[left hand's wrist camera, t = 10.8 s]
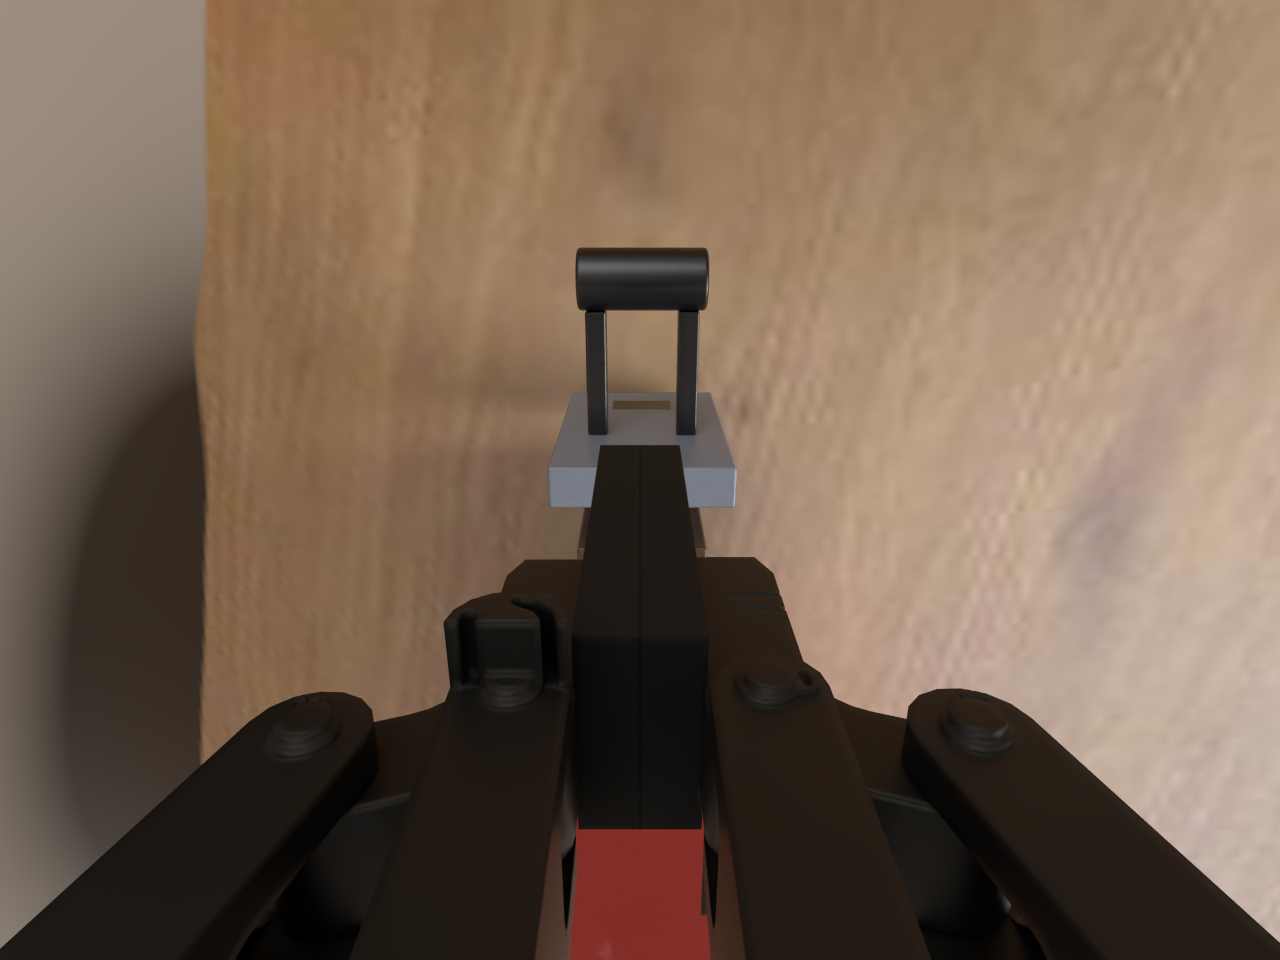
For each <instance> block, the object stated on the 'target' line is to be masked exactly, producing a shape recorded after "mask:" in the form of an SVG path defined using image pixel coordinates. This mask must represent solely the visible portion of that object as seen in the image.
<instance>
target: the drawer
mask: <svg viewBox="0 0 1280 960" xmlns="http://www.w3.org/2000/svg"><path fill="white" fill-rule="evenodd" d="M708 292H709V256H708V251H707V249H706V248H579V249H578V250H577V253H576V297H577V305H578V308H579V309H580V310H586V313H585V331H586V372H587V393H572V396H571V399H570V402H569V405H568V408H567V411H566V415H565V418H564V421H563V424H562V427H561V430H560V433H559V436H558V439H557V442H556V445H555V448H554V451H553V454H552V457H551V461H550V464H549V467H548V490H549V505H550V507H585V508H584V513H583V519H582V525H581V531H580V537H579V542H578V548H577V556H578V560H583V555H584V549H585V542H586V536H587V529H588V523H589V516H590V510H591V503H592V496H593V490H594V483H595V477H596V470H597V464H598V457H599V450H600V445H680V450H681V457H682V464H683V470H684V477H685V483H686V490H687V496H688V503H689V510H690V516H691V523H692V529H693V536H694V542H695V549H696V555H697V557H707V548H706V542H705V537H704V532H703V526H702V521H701V515H700V510H699V507H727V508H732V507H734V506H735V499H736V478H737V468H736V465H735V463H734V460H733V457H732V454H731V451H730V448H729V445H728V442H727V439H726V436H725V433H724V430H723V427H722V424H721V421H720V419H719V416H718V413H717V410H716V407H715V404H714V401H713V398H712V395H711V393H697V382H698V347H699V311H698V310H705V309H706V307H707V302H708ZM606 310H678V329H677V384H676V393H608V380H607V312H606Z"/></svg>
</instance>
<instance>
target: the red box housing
mask: <svg viewBox="0 0 1280 960" xmlns="http://www.w3.org/2000/svg"><path fill="white" fill-rule="evenodd" d="M576 845H577V877H576V888H575V899H574V911H573V922H572V933H571V944H570V956H569V960H711V955H710V943H709V932H708V921H707V915H701V896H702V870H703V845H704V825H703V815H702V829H578V819H577V829H576Z"/></svg>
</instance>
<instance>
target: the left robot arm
mask: <svg viewBox="0 0 1280 960" xmlns="http://www.w3.org/2000/svg"><path fill="white" fill-rule="evenodd" d="M444 631H445V641H446V650H447V659H448V669H449V678H450V690H449V692H448V695H447V698H446V700H445V702H443V703H441V704H439V705H437V706H434V707H432V708H430V709H427V710H424V711H420V712H417V713H413V714H410V715H405V716H401V717H396V718H391V719H387V720H382V721H377V722H374V720H373V714H372V709H371V708H370V707H369V706H368V705H367V704H366V703H365V702H364V701H363V700H362V699H361V698H358V697H355V696H352V695H350V694H347V693H344V692H317V693H311V694H307V695H306V694H305V695H301V696H297V697H293V698H291V699H289V700H286V701H284V702H281V703H279V704H276V705H274V706H272V707H270V708H268V709H267V710H265V711H264V712H262V713H261V714H260V715H258V716H257V717H255V718H254V719H252V720H251V721H250V722H248V723H247V724H246V725H245V726H244V727H243V728H242V729H241V730H240V731H239V732H237V733H236V734H235V735H234V736H233V737H232V738H231V739H230V740H229V741H228V742H226V743H225V744H224V745H223V746H222V747H221V748H220V749H219V750H218V751H217V752H215V753H214V754H213V755H212V756H211V757H210V758H209V759H208V760H207V761H206V762H205V763H203V764H202V765H201V766H200V767H199V768H198V769H197V770H196V771H195V772H194V773H192V774H191V775H190V776H189V777H188V778H187V779H186V780H185V781H184V782H183V783H181V784H180V785H179V786H178V787H177V788H176V789H175V790H174V791H173V792H172V793H171V794H169V795H168V796H167V797H166V798H165V799H164V800H163V801H162V802H161V803H160V804H159V805H157V806H156V807H155V808H154V809H153V810H152V811H151V812H150V813H149V814H147V815H146V816H145V817H144V818H143V819H142V820H141V821H140V822H139V823H138V824H137V825H135V826H134V827H133V828H132V829H131V830H130V831H129V832H128V833H127V834H126V835H124V836H123V837H122V838H121V839H120V840H119V841H118V842H117V843H116V844H115V845H114V846H112V847H111V848H110V849H109V850H108V851H107V852H106V853H105V854H104V855H103V856H101V857H100V858H99V859H98V860H97V861H96V862H95V863H94V864H93V865H92V866H90V867H89V868H88V869H87V870H86V871H85V872H84V873H83V874H82V875H81V876H79V877H78V878H77V879H76V880H75V881H74V882H73V883H72V884H71V885H70V886H69V887H67V888H66V889H65V890H64V891H63V892H62V893H61V894H60V895H59V896H58V897H56V898H55V899H54V900H53V901H52V902H51V903H50V904H49V905H48V906H47V907H45V908H44V909H43V910H42V911H41V912H40V913H39V914H38V915H37V916H36V917H35V918H33V919H32V920H31V921H30V922H29V923H28V924H27V925H26V926H25V927H24V928H22V929H21V930H20V931H19V932H18V933H17V934H16V935H15V936H14V937H13V938H11V939H10V940H9V941H8V942H7V943H6V944H5V945H4V946H3V947H2V948H1V949H0V960H569V956H570V944H571V933H572V922H573V911H574V899H575V888H576V877H577V845H576V829H577V819H578V829H702V815H703V825H704V845H703V870H702V896H701V915H707V921H708V932H709V943H710V955H711V960H1280V943H1279V942H1278V941H1277V940H1276V939H1275V938H1274V937H1273V936H1272V935H1271V934H1269V933H1268V932H1267V931H1266V930H1265V929H1264V928H1263V927H1262V926H1261V925H1260V924H1258V923H1257V922H1256V921H1255V920H1254V919H1253V918H1252V917H1251V916H1250V915H1248V914H1247V913H1246V912H1245V911H1244V910H1243V909H1242V908H1241V907H1240V906H1239V905H1237V904H1236V903H1235V902H1234V901H1233V900H1232V899H1231V898H1230V897H1229V896H1227V895H1226V894H1225V893H1224V892H1223V891H1222V890H1221V889H1220V888H1219V887H1218V886H1216V885H1215V884H1214V883H1213V882H1212V881H1211V880H1210V879H1209V878H1208V877H1206V876H1205V875H1204V874H1203V873H1202V872H1201V871H1200V870H1199V869H1198V868H1197V867H1195V866H1194V865H1193V864H1192V863H1191V862H1190V861H1189V860H1188V859H1187V858H1185V857H1184V856H1183V855H1182V854H1181V853H1180V852H1179V851H1178V850H1177V849H1176V848H1174V847H1173V846H1172V845H1171V844H1170V843H1169V842H1168V841H1167V840H1166V839H1164V838H1163V837H1162V836H1161V835H1160V834H1159V833H1158V832H1157V831H1156V830H1155V829H1153V828H1152V827H1151V826H1150V825H1149V824H1148V823H1147V822H1146V821H1145V820H1143V819H1142V818H1141V817H1140V816H1139V815H1138V814H1137V813H1136V812H1135V811H1134V810H1132V809H1131V808H1130V807H1129V806H1128V805H1127V804H1126V803H1125V802H1124V801H1122V800H1121V799H1120V798H1119V797H1118V796H1117V795H1116V794H1115V793H1114V792H1113V791H1111V790H1110V789H1109V788H1108V787H1107V786H1106V785H1105V784H1104V783H1103V782H1101V781H1100V780H1099V779H1098V778H1097V777H1096V776H1095V775H1094V774H1093V773H1092V772H1090V771H1089V770H1088V769H1087V768H1086V767H1085V766H1084V765H1083V764H1082V763H1080V762H1079V761H1078V760H1077V759H1076V758H1075V757H1074V756H1073V755H1072V754H1071V753H1069V752H1068V751H1067V750H1066V749H1065V748H1064V747H1063V746H1062V745H1061V744H1059V743H1058V742H1057V741H1056V740H1055V739H1054V738H1053V737H1052V736H1051V735H1050V734H1048V733H1047V732H1046V731H1045V730H1044V729H1043V728H1042V727H1041V726H1040V725H1038V724H1037V723H1036V722H1035V721H1034V720H1033V719H1032V718H1031V717H1029V716H1028V715H1026V714H1025V713H1023V712H1022V711H1020V710H1019V709H1018V708H1016V707H1015V706H1013V705H1012V704H1010V703H1008V702H1005V701H1003V700H1000V699H998V698H996V697H993V696H991V695H988V694H986V693H981V692H977V691H971V690H965V689H960V688H959V689H936V690H933V691H930V692H927V693H924V694H921V695H919V696H918V697H917V698H916V699H915V700H914V701H913V702H912V703H911V704H910V705H909V707H908V714H907V719H904V718H899V717H895V716H890V715H885V714H880V713H876V712H871V711H867V710H864V709H860V708H857V707H853V706H851V705H848V704H846V703H844V702H842V701H840V700H837V699H835V698H834V697H833V694H832V691H831V689H830V686H829V685H828V683H827V682H826V680H825V679H824V677H823V676H822V675H821V673H820V672H818V671H817V670H816V669H814V668H813V667H811V666H810V665H808V664H807V663H805V662H804V661H803V659H802V656H801V653H800V650H799V647H798V644H797V641H796V639H795V636H794V633H793V630H792V627H791V624H790V621H789V618H788V615H787V612H786V611H785V606H784V603H783V601H782V598H781V595H779V589H778V586H777V583H776V580H775V577H774V574H773V573H772V572H771V571H770V570H769V569H768V568H766V567H765V566H764V565H763V564H762V563H760V562H759V561H758V560H757V559H756V558H755V557H697V555H696V549H695V542H694V536H693V529H692V523H691V516H690V510H689V503H688V496H687V490H686V483H685V477H684V470H683V464H682V457H681V450H680V445H600V450H599V457H598V464H597V470H596V477H595V483H594V490H593V496H592V503H591V510H590V516H589V523H588V529H587V536H586V542H585V549H584V555H583V560H525V561H524V562H523V563H521V564H520V565H519V566H518V567H517V568H515V569H514V570H513V571H512V572H511V573H510V574H508V575H507V577H506V580H505V583H504V586H503V589H502V592H501V593H493V594H489V595H486V596H482V597H479V598H476V599H472V600H470V601H468V602H466V603H465V604H463V605H461V606H459V607H458V608H456V609H454V610H453V611H452V612H451V614H450V615H449V616H448V617H447V619H446V620H445V621H444Z"/></svg>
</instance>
